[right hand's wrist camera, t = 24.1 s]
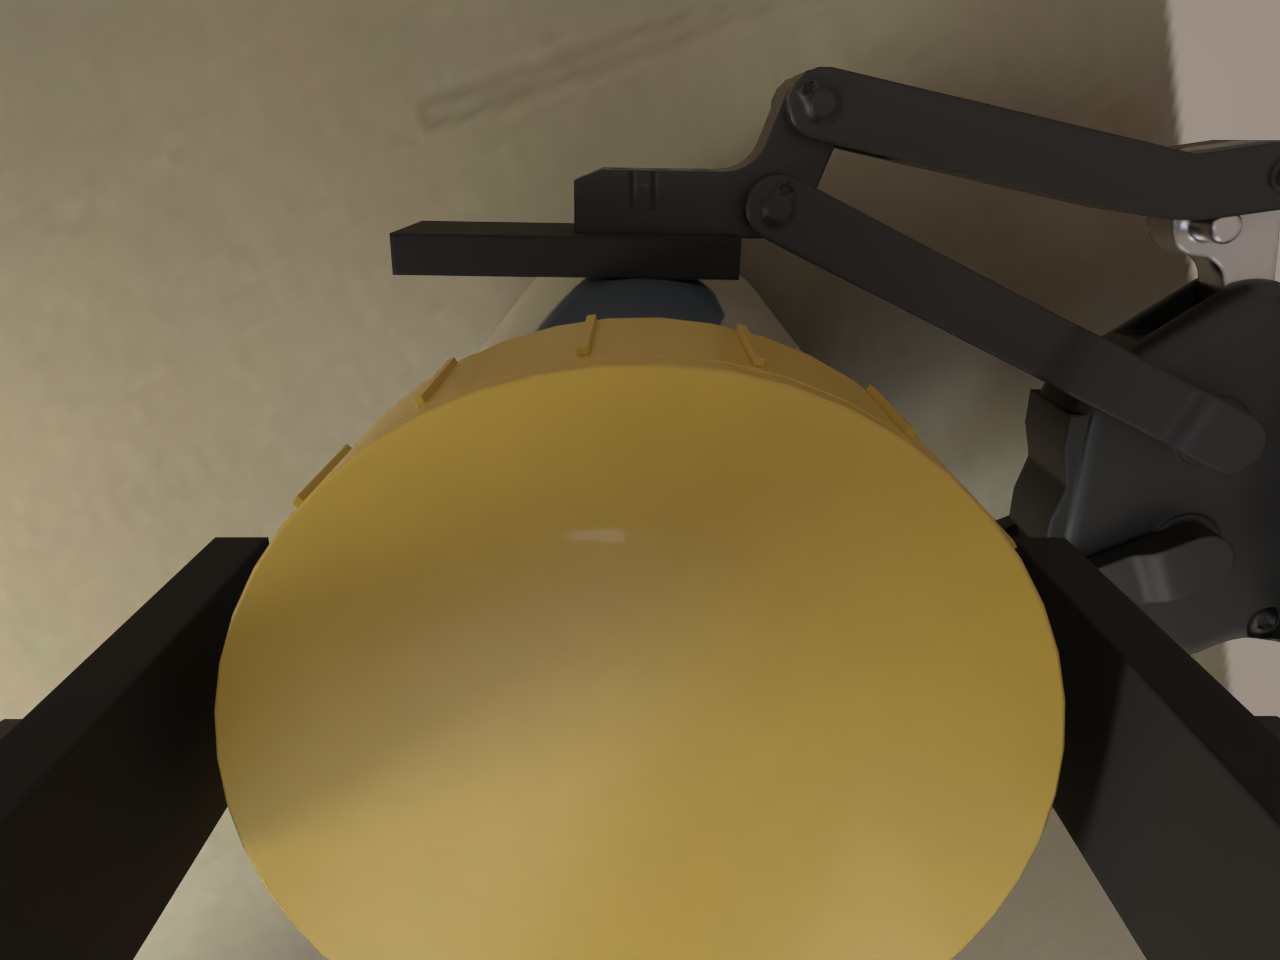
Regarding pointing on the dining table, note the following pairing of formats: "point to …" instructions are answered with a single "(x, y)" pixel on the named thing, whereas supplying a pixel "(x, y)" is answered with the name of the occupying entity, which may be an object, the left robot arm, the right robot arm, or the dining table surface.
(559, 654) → the lid
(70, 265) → the dining table surface
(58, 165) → the dining table surface
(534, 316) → the jar
